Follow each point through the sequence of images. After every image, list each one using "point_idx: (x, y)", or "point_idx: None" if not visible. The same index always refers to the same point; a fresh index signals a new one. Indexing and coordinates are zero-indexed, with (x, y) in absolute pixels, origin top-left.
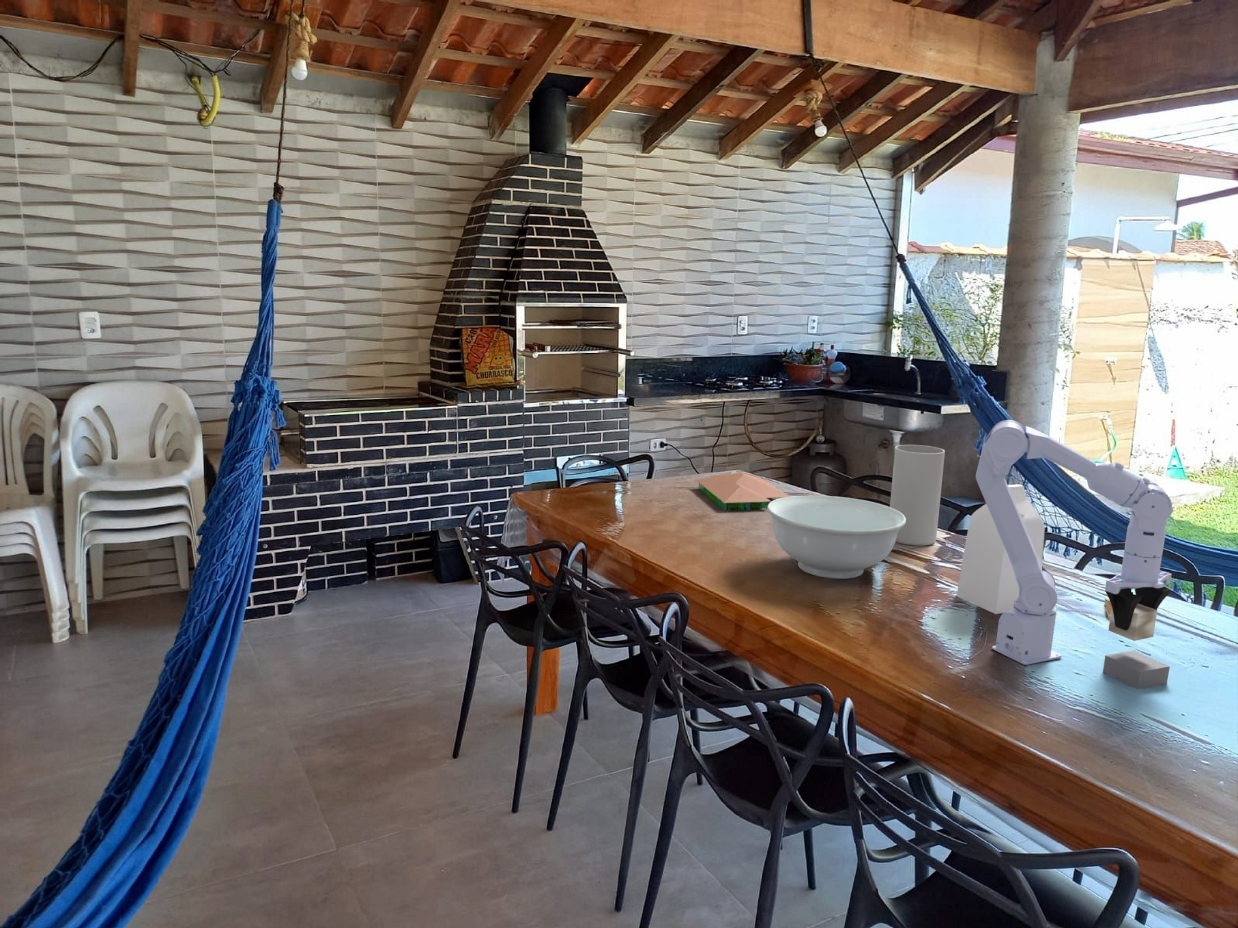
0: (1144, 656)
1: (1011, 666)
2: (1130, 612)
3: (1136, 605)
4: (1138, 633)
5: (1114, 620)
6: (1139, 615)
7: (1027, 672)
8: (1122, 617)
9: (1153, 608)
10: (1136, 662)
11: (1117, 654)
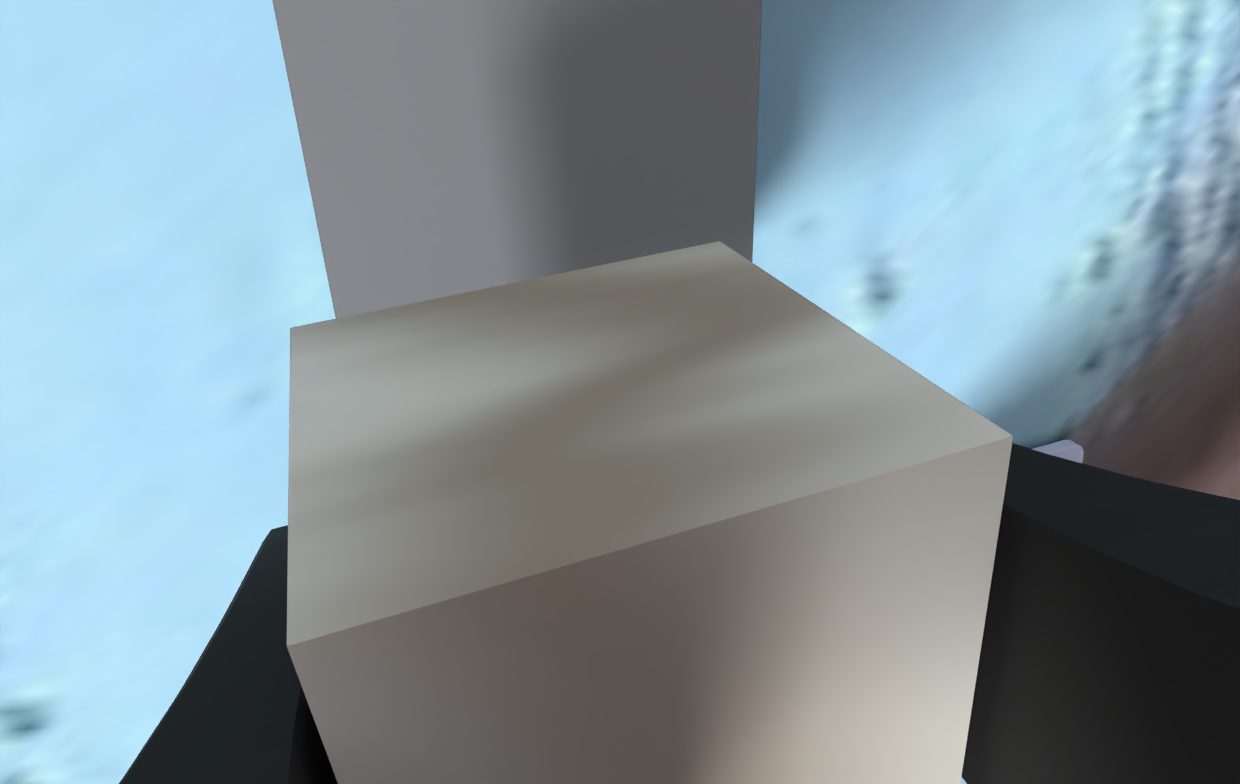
0: (362, 251)
1: (1129, 437)
2: (1123, 493)
3: (1215, 591)
4: (693, 290)
5: None
6: (935, 426)
7: (1129, 354)
8: None
9: (292, 753)
10: (595, 128)
11: None
